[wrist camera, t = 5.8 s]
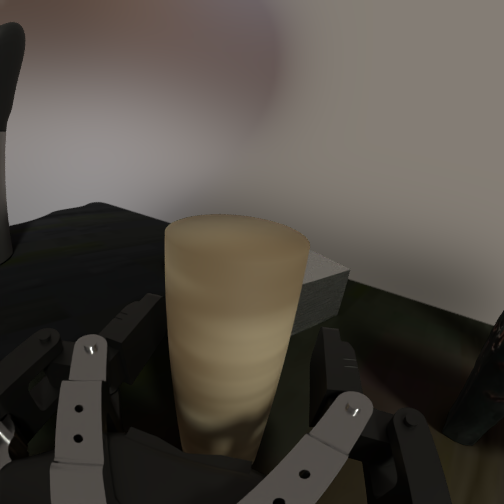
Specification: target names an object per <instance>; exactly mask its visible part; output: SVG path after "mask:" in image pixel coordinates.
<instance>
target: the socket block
mask: <svg viewBox="0 0 504 504" xmlns="http://www.w3.org/2000/svg"><path fill="white" fill-rule="evenodd" d="M349 272H350V269H348V268H346V267H344V266H342V265H340V264H338V263H336V262H334V261H332V260H330V259H328V258H326V257H324V256H322V255H320V254H318V253H316V252H314V251H312V250H309V255H308V260H307V265H306V269H305V274H304V279H303V284H302V288H301V293H300V297H299V302H298V306H297V310H296V315H295V319H294V323H293V327H292V331H291V336H292V335H294V334H297V333H299V332H301V331H304V330H306V329H308V328H310V327H312V326H315V325H317V324H319V323H321V322H323V321H325V320H327V319H329V318H332V317H334V316H336V315H337V314H338V310H339V307H340V304H341V300H342V297H343V294H344V290H345V287H346V283H347V279H348V276H349Z"/></svg>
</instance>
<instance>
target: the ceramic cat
mask: <svg viewBox="0 0 504 504" xmlns="http://www.w3.org/2000/svg"><path fill="white" fill-rule="evenodd" d="M503 418H504V311H503V312H502V314H501V315H500V317H499V318H498V320H497V322H496V324H495V325H494V327H493V329H492V331H491V333H490V336H489V338H488V340H487V341H486V343H485V345H484V346H483V348H482V350H481V353H480V355H479V357H478V359H477V361H476V363H475V366H474V368H473V370H472V372H471V374H470V376H469V378H468V380H467V382H466V384H465V386H464V387H463V389H462V391H461V393H460V395H459V397H458V398H457V400H456V402H455V403H454V405H453V406H452V408H451V409H450V411H449V414H448V417H447V420H446V424H445V426H444V428H443V430H442V433H443V434H444V435H446V436H447V437H449V438H450V439H452V440H454V441H455V442H458V443H460V444H463V445H470V446H472V445H473V444H475V443H476V442H477V441H478V440H479V439H480V437H481V436H482V435H483V434H484V433H486V432H487V431H488V430H489V429H490V428H491V427H493V426H494V425H496V424H497V423H498V421H500V420H501V419H503Z"/></svg>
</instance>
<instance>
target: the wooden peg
mask: <svg viewBox="0 0 504 504" xmlns="http://www.w3.org/2000/svg"><path fill="white" fill-rule="evenodd" d="M309 250H310V243H309V241H308V239H307V238H306V237H305V236H304V235H302V234H301V233H300V232H298V231H296V230H294V229H292V228H290V227H287V226H285V225H282V224H279V223H276V222H273V221H268V220H265V219H259V218H255V217H248V216H240V215H226V214H211V215H198V216H191V217H186V218H183V219H180V220H177V221H175V222H173V223H171V224H170V225H168V227H167V228H166V230H165V286H166V311H167V328H168V342H169V354H170V364H171V374H172V383H173V391H174V399H175V407H176V414H177V420H178V427H179V433H180V439H181V445H182V450H183V452H185V453H189V454H205V455H223V456H227V457H232V458H237V459H242V460H248V461H252V464H253V462H254V460H255V458H256V455H257V452H258V448H259V445H260V442H261V439H262V436H263V433H264V430H265V426H266V423H267V420H268V416H269V413H270V410H271V406H272V403H273V399H274V396H275V392H276V389H277V385H278V382H279V378H280V374H281V371H282V367H283V363H284V359H285V355H286V351H287V348H288V344H289V340H290V336H291V331H292V327H293V323H294V319H295V315H296V310H297V306H298V302H299V297H300V293H301V288H302V284H303V279H304V274H305V269H306V265H307V260H308V255H309Z"/></svg>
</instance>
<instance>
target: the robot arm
mask: <svg viewBox="0 0 504 504" xmlns="http://www.w3.org/2000/svg"><path fill="white" fill-rule="evenodd" d="M24 50H25V33H24V30H23V28H22V26H21V25H20V24H18V23H15V22H10V23H6V24H3V25H1V26H0V264H1V263H3V262H4V261H6V260H7V259H8V258H9V257H10V256H11V255H12V253H13V249H12V243H11V237H10V230H9V222H8V213H7V202H6V187H5V141H6V127H7V121H8V118H9V115H10V113H11V110H12V105H13V100H14V94H15V90H16V84H17V81H18V77H19V72H20V69H21V64H22V61H23V56H24ZM166 329H167V319H166V301H165V298H164V297H163V296H159V295H154V294H150V293H148V294H146V295H145V296H144V297H143V299H142V300H141V301H140V302H138V301H135V302H133V303H131V304H129V305H127V306H126V307H125V308H124V309H123V310H122V311H121V313H119V314H118V315H117V316H116V318H114V319H113V320H112V321H111V322H110V323H109V324H108V325H107V326H106V327H105V328H104V329H103V330H102V331H101V332H100V333H99V334H98V335H93V334H92V335H86V336H83V337H81V338H79V339H78V340H77V341H76V343H75V342H68V341H61V338H60V335H59V333H58V332H57V331H56V330H54V329H51V328H45V329H41V330H39V331H37V332H36V333H35V334H33V335H32V336H31V337H29V338H28V339H27V340H26V341H25V342H23V343H22V344H21V345H20V346H18V347H17V348H16V349H15V350H13V351H12V352H11V353H10V354H9V355H7V356H6V357H5V358H4V359H3V360H2V361H0V504H315V503H316V502H317V501H318V499H319V498H320V497H321V495H322V494H323V493H324V491H325V490H326V489H327V487H328V486H329V485H330V483H331V482H332V481H333V479H334V478H335V476H336V475H337V473H338V472H339V471H340V469H341V468H342V466H343V465H344V463H345V462H346V460H347V458H351V459H355V460H358V461H362V464H363V471H364V478H365V486H366V494H367V503H368V504H452V503H451V498H450V494H449V491H448V487H447V483H446V480H445V476H444V473H443V469H442V466H441V463H440V459H439V456H438V453H437V450H436V447H435V444H434V441H433V438H432V435H431V433H430V430H429V427H428V424H427V422H426V419H425V417H424V416H423V414H422V413H421V412H419V411H418V410H416V409H413V408H409V407H406V408H401V409H399V410H398V411H397V412H396V413H395V414H390V413H386V412H383V411H380V410H377V409H375V408H373V405H372V403H371V401H370V400H369V399H368V398H367V397H366V396H365V395H363V392H362V386H361V381H360V375H359V370H358V368H357V367H358V365H357V361H356V355H355V351H354V349H353V348H352V346H351V345H350V344H349V342H343V341H341V340H340V334H339V330H338V329H333V328H325V327H321V328H320V331H319V334H318V337H317V340H316V344H315V347H314V350H313V353H312V357H311V362H310V412H309V427H314V428H313V429H312V431H311V432H310V433H307V434H306V435H305V436H304V437H303V438H302V439H301V440H300V441H299V442H298V444H297V445H296V446H295V447H294V448H293V449H292V450H291V451H290V453H289V454H288V455H287V456H286V457H285V458H284V459H283V460H282V461H281V462H280V463H279V464H278V465H277V466H276V467H275V468H274V469H273V470H272V471H271V472H270V473H269V474H268V475H267V476H266V475H264V474H262V473H260V472H258V471H256V470H254V469H251V466H252V461H248V460H242V459H237V458H232V457H227V456H223V455H205V454H189V453H185V452H183V451H181V450H179V449H177V448H176V447H174V446H172V445H170V444H169V443H167V442H165V441H164V440H162V439H160V438H159V437H157V436H154V435H151V434H148V433H146V432H143V431H141V430H138V429H136V428H133V427H130V429H129V431H128V432H127V433H125V432H124V428H123V423H122V411H121V396H120V388H119V386H120V384H121V383H122V382H125V383H128V384H130V385H132V384H133V382H134V381H135V379H136V378H137V376H138V375H139V373H140V372H141V370H142V369H143V367H144V366H145V364H146V363H147V361H148V360H149V358H150V357H151V355H152V354H153V352H154V351H155V349H156V348H157V346H158V345H159V344H160V342H161V341H162V339H163V338H164V336H165V333H166ZM42 370H44V372H45V374H46V376H45V377H44V378H43V379H42V380H41V381H40V382H39V383H38V384H37V385H36V386H35V387H34V388H33V389H32V390H31V391H30V392H29V391H28V385H29V383H30V381H31V380H32V379H33V378H34V377H35V376H37V375H38V374H39V373H40V372H41V371H42ZM57 409H58V412H57V423H56V437H55V450H52V451H48V452H45V453H41V454H37V455H34V456H30V457H29V453H28V451H27V448H28V442H29V441H30V440H31V439H32V438H33V437H34V435H35V434H36V433H37V432H38V431H39V430H40V429H41V427H42V426H43V425H44V424H45V423H46V422H47V421H48V419H49V418H50V417H51V416H52V415H53V414H54V413H55V411H56V410H57Z"/></svg>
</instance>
